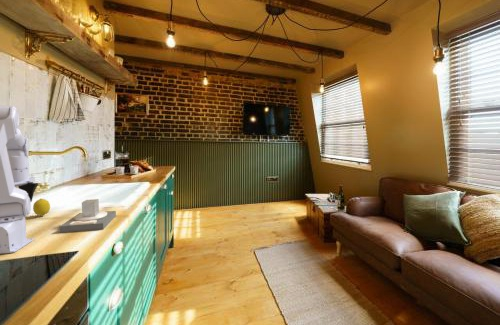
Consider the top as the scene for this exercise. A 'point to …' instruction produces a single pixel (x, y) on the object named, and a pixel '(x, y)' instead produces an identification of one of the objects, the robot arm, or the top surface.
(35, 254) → the top surface
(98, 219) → the scale
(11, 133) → the robot arm
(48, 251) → the top surface
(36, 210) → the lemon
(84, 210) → the block
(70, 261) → the top surface
